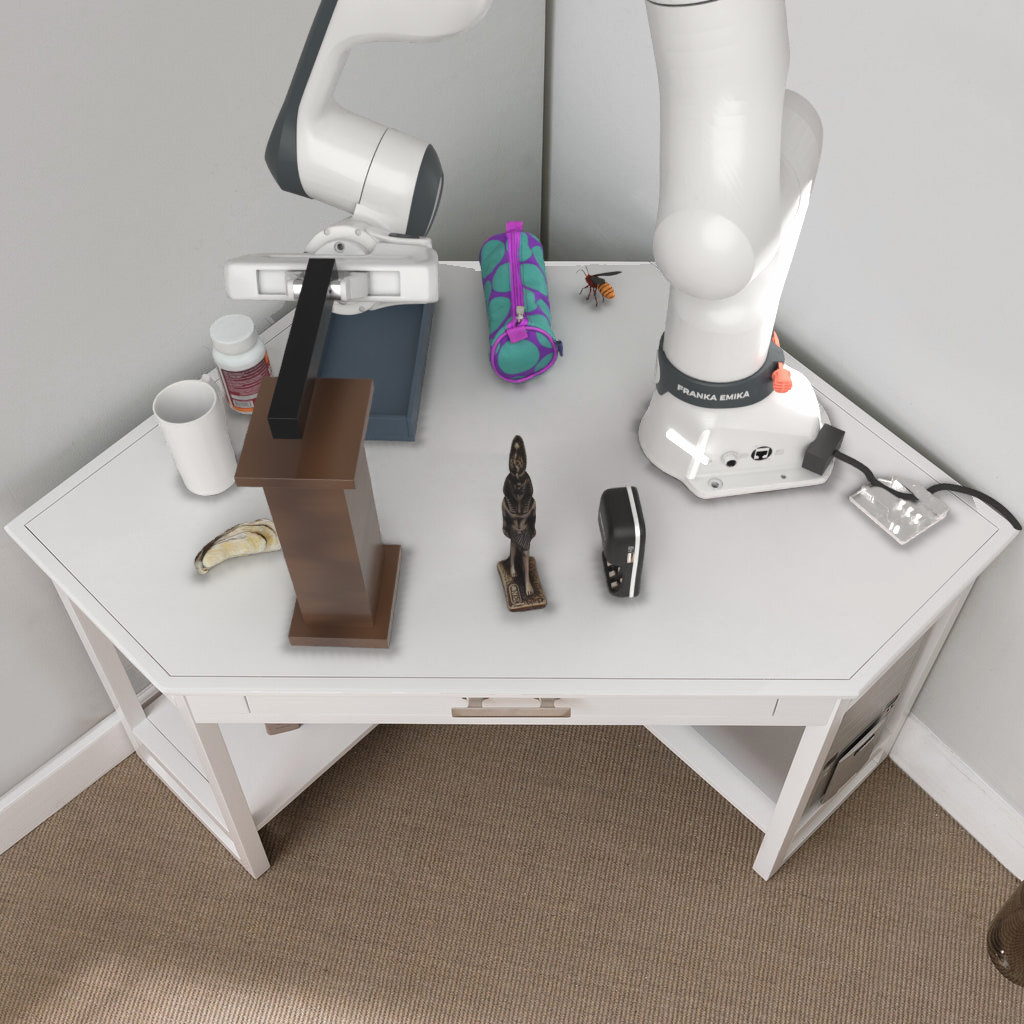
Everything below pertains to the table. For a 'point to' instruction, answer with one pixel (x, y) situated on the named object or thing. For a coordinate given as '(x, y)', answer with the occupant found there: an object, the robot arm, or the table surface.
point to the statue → (520, 536)
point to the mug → (197, 434)
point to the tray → (382, 363)
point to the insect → (600, 285)
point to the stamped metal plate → (900, 508)
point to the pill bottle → (239, 360)
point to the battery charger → (622, 539)
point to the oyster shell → (238, 543)
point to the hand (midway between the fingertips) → (317, 291)
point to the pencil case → (517, 305)
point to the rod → (303, 351)
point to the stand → (326, 516)
